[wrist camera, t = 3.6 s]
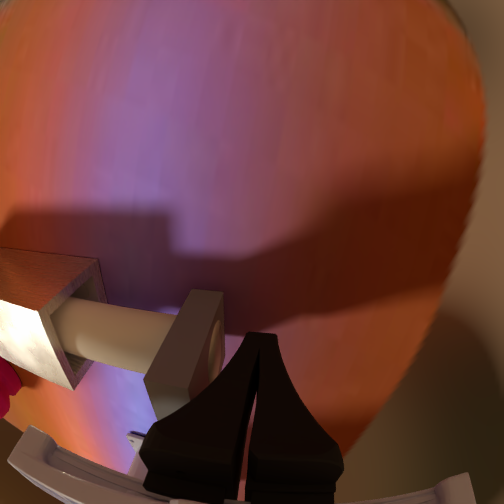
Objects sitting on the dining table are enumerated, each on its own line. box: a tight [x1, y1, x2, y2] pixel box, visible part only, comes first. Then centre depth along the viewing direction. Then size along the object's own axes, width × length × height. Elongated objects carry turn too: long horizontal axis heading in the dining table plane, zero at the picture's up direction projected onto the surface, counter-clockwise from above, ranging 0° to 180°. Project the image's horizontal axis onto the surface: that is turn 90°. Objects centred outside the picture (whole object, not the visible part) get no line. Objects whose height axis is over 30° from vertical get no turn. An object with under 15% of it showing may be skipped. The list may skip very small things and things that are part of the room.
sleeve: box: [0, 247, 108, 391], centre depth 14 cm, size 12×5×5 cm, turn 88°
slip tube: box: [50, 289, 225, 421], centre depth 13 cm, size 23×4×6 cm, turn 88°
